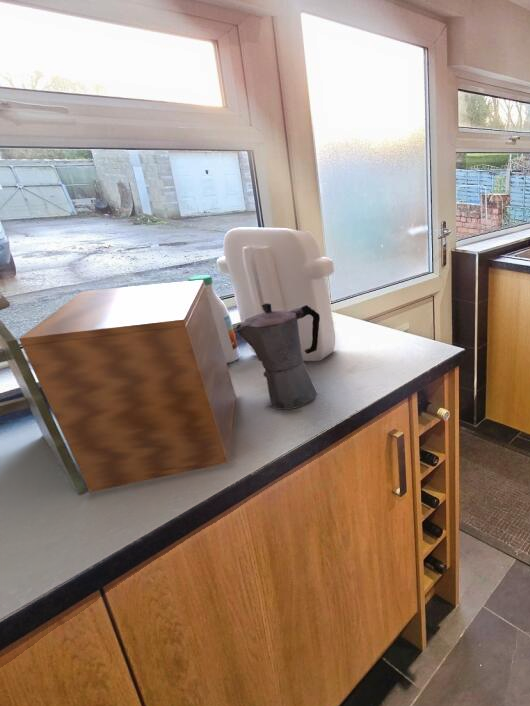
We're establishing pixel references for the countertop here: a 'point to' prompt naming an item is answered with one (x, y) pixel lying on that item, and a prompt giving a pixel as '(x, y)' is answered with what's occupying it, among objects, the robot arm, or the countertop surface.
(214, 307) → the milk bottle
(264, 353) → the moka pot
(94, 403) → the cupboard
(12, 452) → the countertop surface
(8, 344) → the cupboard door
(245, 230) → the toaster
